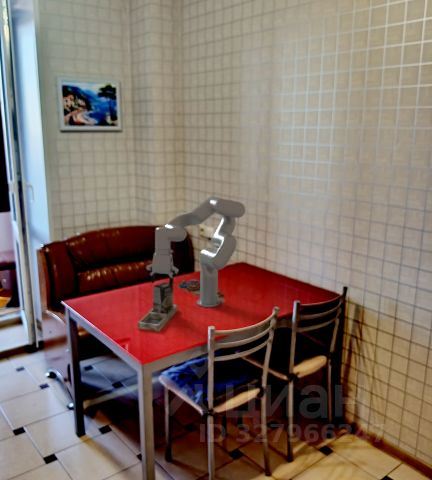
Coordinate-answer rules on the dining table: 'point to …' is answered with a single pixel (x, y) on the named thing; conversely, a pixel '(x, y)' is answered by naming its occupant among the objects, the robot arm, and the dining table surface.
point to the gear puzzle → (193, 287)
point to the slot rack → (156, 319)
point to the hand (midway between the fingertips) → (162, 283)
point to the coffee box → (162, 298)
